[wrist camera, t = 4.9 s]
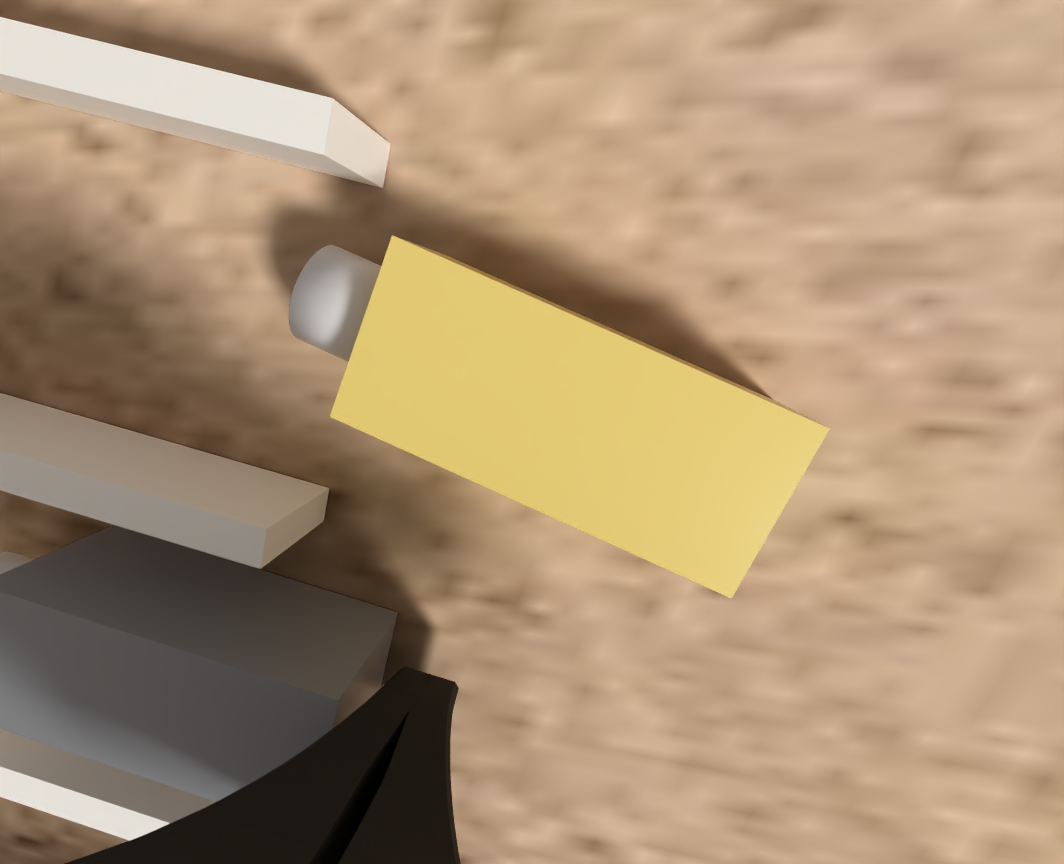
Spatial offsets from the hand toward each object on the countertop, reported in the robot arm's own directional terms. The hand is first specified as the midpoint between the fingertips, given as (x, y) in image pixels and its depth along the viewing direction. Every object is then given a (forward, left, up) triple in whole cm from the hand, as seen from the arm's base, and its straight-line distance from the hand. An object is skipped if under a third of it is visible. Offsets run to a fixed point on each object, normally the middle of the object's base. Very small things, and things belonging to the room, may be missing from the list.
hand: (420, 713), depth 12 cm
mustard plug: (+7, -1, -1) cm, 8 cm away
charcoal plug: (0, +5, -1) cm, 5 cm away
